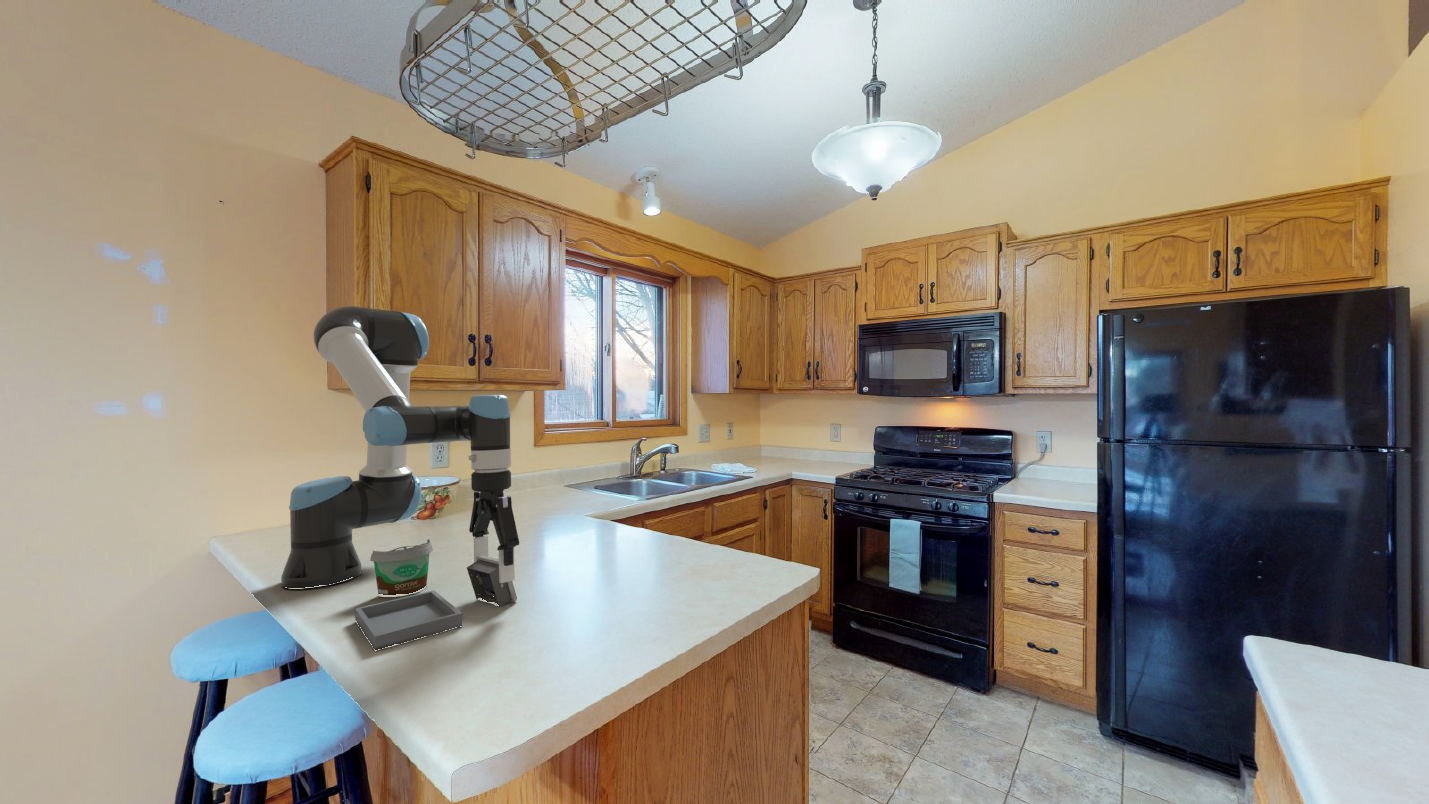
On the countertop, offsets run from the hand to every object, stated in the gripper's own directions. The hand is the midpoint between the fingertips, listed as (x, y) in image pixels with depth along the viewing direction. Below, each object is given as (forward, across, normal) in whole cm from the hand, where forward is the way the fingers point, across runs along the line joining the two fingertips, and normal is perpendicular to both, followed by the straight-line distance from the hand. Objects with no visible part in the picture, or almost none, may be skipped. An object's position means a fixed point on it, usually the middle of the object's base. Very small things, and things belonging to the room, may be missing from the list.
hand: (493, 574), depth 108 cm
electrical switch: (+6, 0, 0) cm, 6 cm away
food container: (+6, -19, -11) cm, 23 cm away
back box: (+6, 0, -16) cm, 17 cm away
